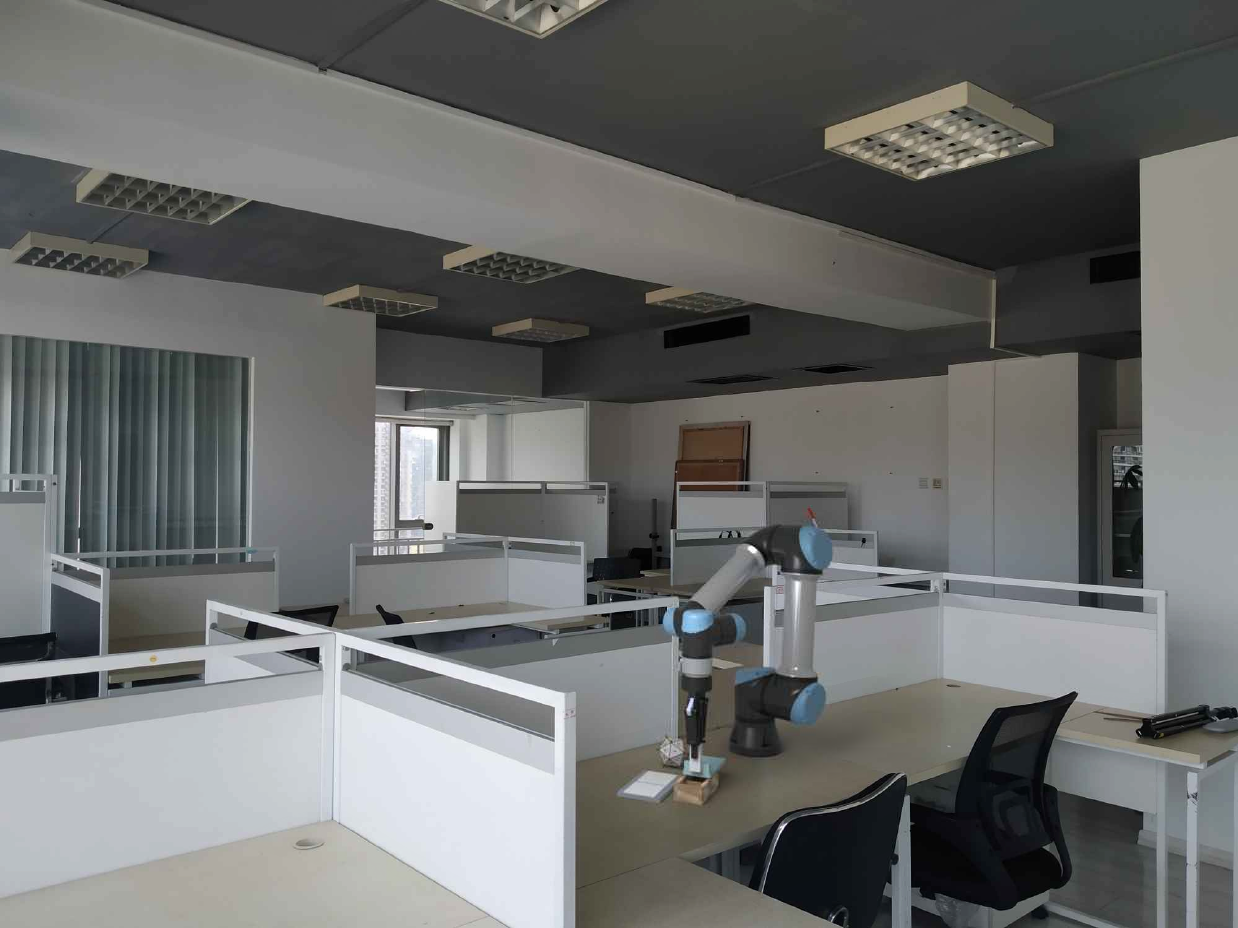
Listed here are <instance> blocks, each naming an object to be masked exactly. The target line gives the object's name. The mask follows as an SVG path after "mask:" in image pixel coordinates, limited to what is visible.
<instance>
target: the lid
mask: <svg viewBox="0 0 1238 928" xmlns="http://www.w3.org/2000/svg"><path fill="white" fill-rule="evenodd" d="M726 762H727V758H723V757H715V756H708V755H702V771H701V772H694V771H690V759H688V760H687V759H685V760H684V761H683V770H682V775H691V776H698V777H705V778H711V777H712V776H713V775H714V774H715V773H716V772H717V771H719V770H720V769H721V767H723V766H724V765H725V764H726Z"/></svg>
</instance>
